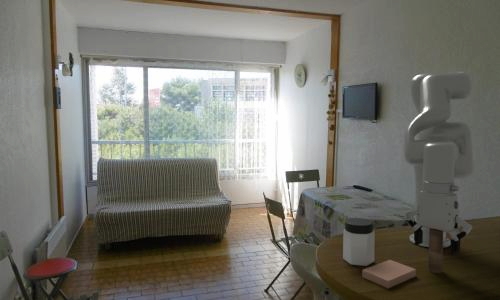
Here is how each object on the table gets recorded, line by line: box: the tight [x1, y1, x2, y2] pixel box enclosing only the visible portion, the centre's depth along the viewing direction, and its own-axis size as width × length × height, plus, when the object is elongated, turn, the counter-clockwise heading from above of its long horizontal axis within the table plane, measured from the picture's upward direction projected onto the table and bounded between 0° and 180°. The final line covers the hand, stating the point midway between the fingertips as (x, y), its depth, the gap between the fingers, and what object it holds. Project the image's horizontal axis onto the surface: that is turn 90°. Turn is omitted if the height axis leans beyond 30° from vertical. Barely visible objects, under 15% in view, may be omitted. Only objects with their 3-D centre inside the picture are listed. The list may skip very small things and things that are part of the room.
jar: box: [342, 217, 376, 267], centre depth 108 cm, size 9×8×12 cm
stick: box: [428, 228, 444, 274], centre depth 100 cm, size 3×3×12 cm
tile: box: [361, 259, 417, 289], centre depth 97 cm, size 2×8×12 cm
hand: (435, 248), depth 100 cm, fingers open, 9 cm apart
